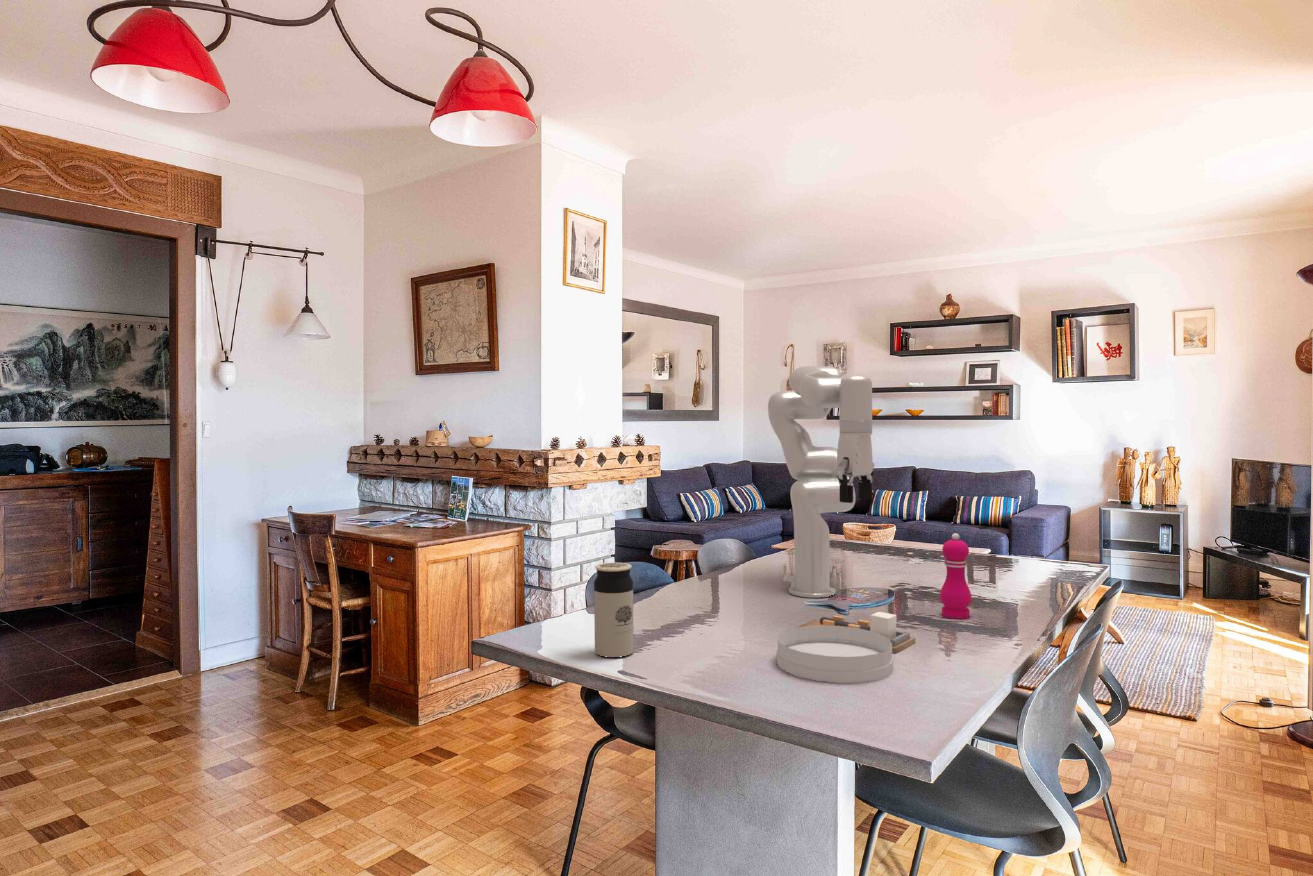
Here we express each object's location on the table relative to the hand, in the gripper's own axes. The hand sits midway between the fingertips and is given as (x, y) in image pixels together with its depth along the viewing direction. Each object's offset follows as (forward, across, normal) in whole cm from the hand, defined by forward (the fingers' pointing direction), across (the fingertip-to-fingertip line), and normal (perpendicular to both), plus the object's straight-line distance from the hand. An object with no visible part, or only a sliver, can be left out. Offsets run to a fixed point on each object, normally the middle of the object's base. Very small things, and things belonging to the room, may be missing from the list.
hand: (856, 500), depth 182 cm
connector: (+27, +15, +7) cm, 32 cm away
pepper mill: (+28, -18, +17) cm, 38 cm away
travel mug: (+28, +56, -26) cm, 68 cm away
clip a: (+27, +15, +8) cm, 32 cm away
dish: (+29, +34, +12) cm, 46 cm away
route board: (+28, +15, +6) cm, 33 cm away
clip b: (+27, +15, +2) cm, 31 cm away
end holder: (+27, +15, +14) cm, 34 cm away
